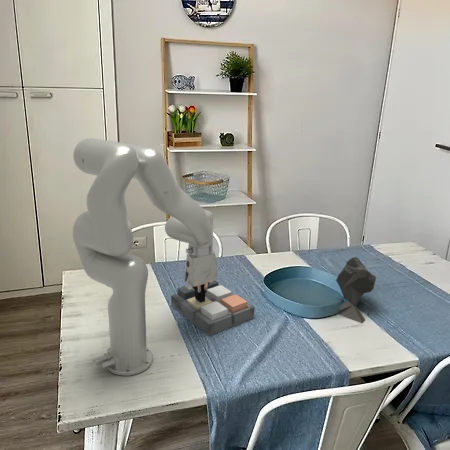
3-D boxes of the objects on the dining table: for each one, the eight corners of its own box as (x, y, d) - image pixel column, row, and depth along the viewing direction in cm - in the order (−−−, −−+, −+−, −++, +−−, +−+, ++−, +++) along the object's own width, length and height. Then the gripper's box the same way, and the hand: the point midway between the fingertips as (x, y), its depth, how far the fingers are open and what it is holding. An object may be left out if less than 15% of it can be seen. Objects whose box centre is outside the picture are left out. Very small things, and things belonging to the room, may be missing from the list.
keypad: (209, 336, 132) (209, 316, 130) (171, 305, 148) (171, 288, 146) (253, 317, 142) (254, 299, 140) (213, 291, 159) (214, 274, 156)
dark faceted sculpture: (379, 305, 153) (387, 258, 147) (362, 323, 141) (370, 273, 135) (342, 292, 161) (348, 247, 155) (322, 308, 150) (328, 260, 144)
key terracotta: (232, 315, 138) (232, 307, 137) (220, 307, 142) (221, 299, 141) (246, 309, 141) (247, 301, 140) (235, 302, 146) (235, 294, 145)
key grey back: (217, 304, 144) (217, 296, 143) (206, 297, 148) (206, 289, 147) (231, 299, 147) (231, 291, 146) (220, 292, 152) (220, 285, 151)
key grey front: (212, 323, 133) (212, 314, 132) (200, 314, 137) (201, 306, 136) (227, 317, 137) (227, 308, 136) (216, 309, 141) (216, 301, 140)
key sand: (197, 315, 139) (197, 307, 138) (186, 307, 144) (186, 299, 143) (212, 309, 143) (212, 301, 142) (201, 302, 147) (201, 294, 146)
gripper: (187, 258, 129) (187, 312, 135) (226, 247, 138) (225, 298, 144) (173, 250, 135) (174, 302, 141) (212, 240, 143) (211, 289, 150)
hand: (200, 300), depth 142 cm, fingers closed
